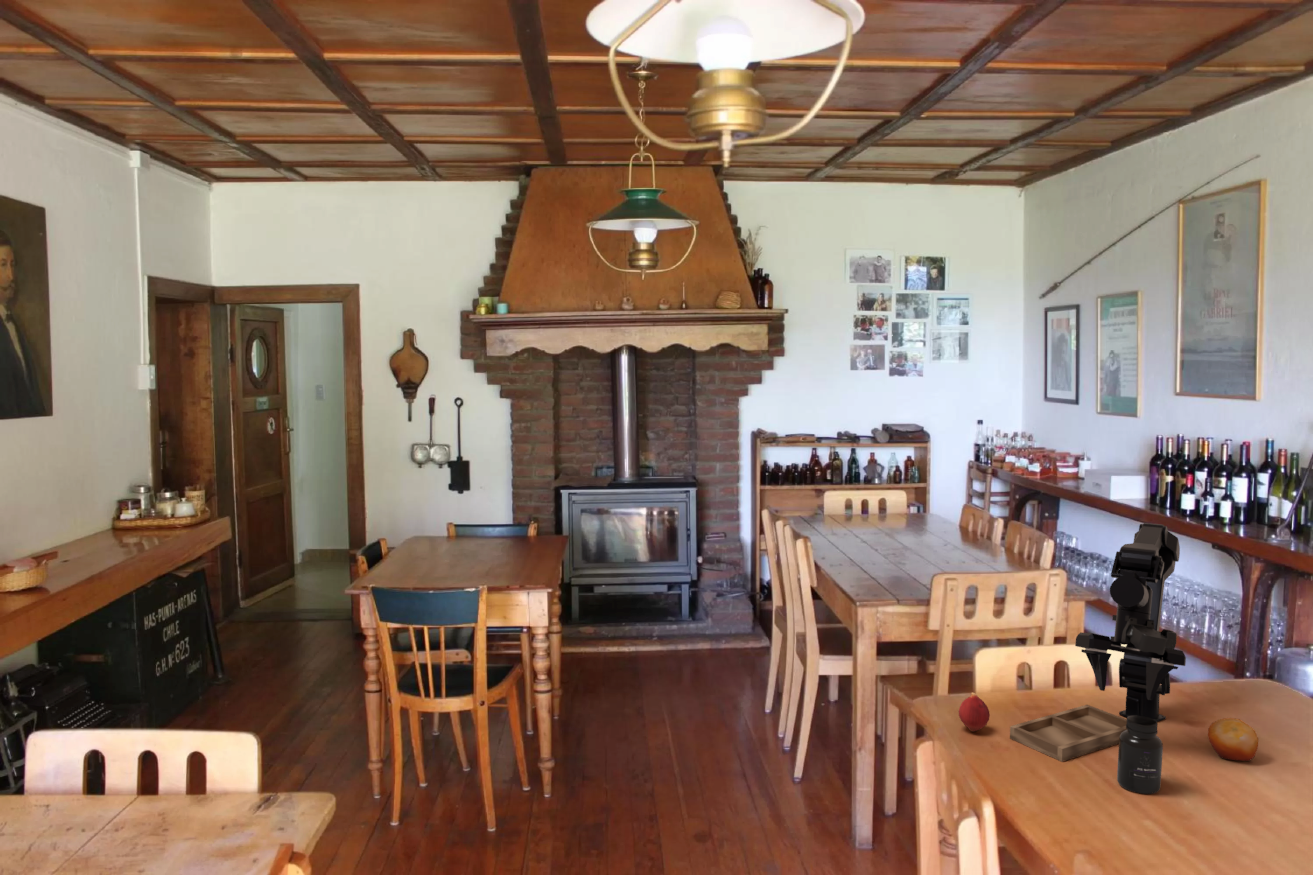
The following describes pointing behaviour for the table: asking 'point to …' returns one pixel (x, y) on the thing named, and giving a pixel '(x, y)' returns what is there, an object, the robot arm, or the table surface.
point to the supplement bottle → (1140, 756)
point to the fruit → (1233, 739)
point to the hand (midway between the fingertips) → (1125, 695)
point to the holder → (1070, 732)
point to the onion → (974, 713)
